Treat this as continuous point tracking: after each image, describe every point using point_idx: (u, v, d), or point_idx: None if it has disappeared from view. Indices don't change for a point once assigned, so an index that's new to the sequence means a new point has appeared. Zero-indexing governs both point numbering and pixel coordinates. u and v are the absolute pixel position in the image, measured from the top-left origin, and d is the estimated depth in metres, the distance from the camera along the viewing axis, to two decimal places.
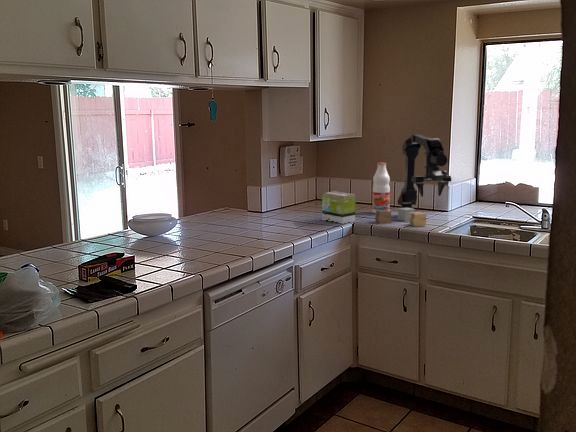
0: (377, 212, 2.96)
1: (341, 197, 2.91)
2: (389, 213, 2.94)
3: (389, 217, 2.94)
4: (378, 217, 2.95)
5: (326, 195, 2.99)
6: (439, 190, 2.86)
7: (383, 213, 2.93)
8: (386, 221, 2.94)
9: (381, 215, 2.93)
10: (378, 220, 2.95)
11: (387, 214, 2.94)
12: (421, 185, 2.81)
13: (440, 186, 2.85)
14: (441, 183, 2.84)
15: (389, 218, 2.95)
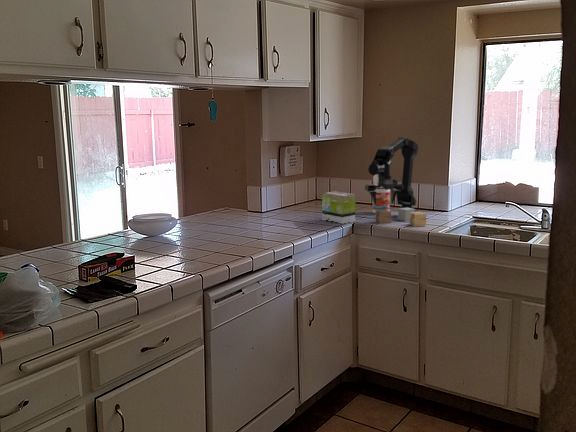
0: (377, 212, 2.96)
1: (341, 197, 2.91)
2: (389, 213, 2.94)
3: (389, 217, 2.94)
4: (378, 217, 2.95)
5: (326, 195, 2.99)
6: (392, 198, 2.96)
7: (383, 213, 2.93)
8: (386, 221, 2.94)
9: (381, 215, 2.93)
10: (378, 220, 2.95)
11: (387, 214, 2.94)
12: (373, 193, 2.92)
13: (392, 194, 2.96)
14: (393, 191, 2.95)
15: (389, 218, 2.95)
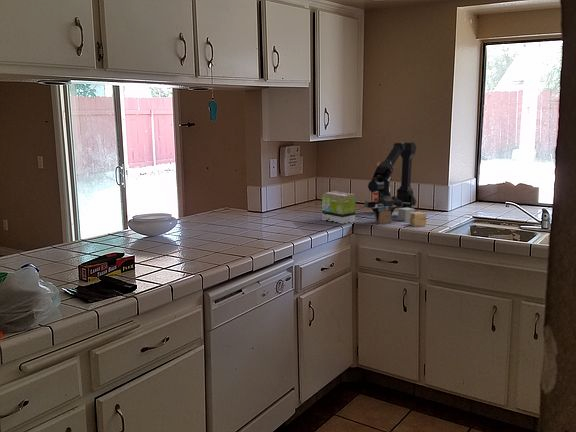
0: None
1: (341, 197, 2.91)
2: (389, 213, 2.94)
3: (389, 217, 2.94)
4: (378, 217, 2.95)
5: (326, 195, 2.99)
6: None
7: (383, 213, 2.93)
8: (386, 221, 2.94)
9: (381, 215, 2.93)
10: (378, 220, 2.95)
11: (387, 214, 2.94)
12: (376, 210, 2.93)
13: None
14: (390, 208, 2.96)
15: (389, 218, 2.95)
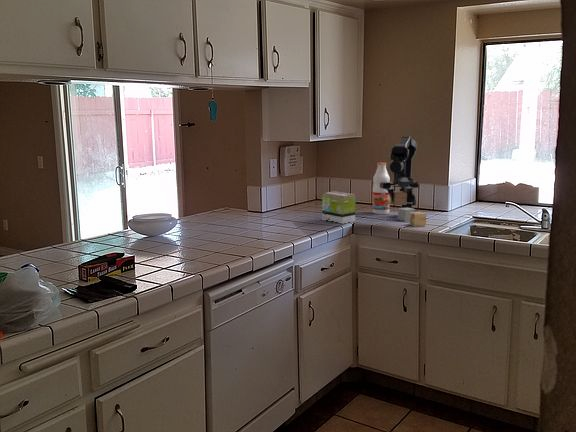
0: (393, 193, 2.91)
1: (341, 197, 2.91)
2: (405, 194, 2.89)
3: (405, 198, 2.89)
4: None
5: (326, 195, 2.99)
6: None
7: (398, 194, 2.88)
8: (402, 202, 2.89)
9: (396, 196, 2.88)
10: (393, 201, 2.90)
11: (403, 195, 2.89)
12: (391, 191, 2.88)
13: None
14: (406, 189, 2.91)
15: (404, 200, 2.89)
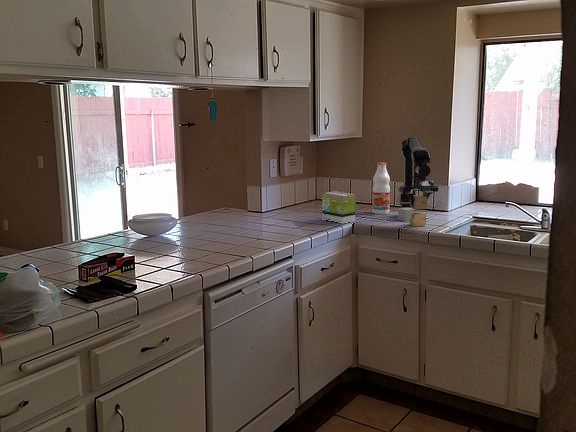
0: None
1: (341, 197, 2.91)
2: (425, 198, 2.85)
3: (425, 202, 2.85)
4: (413, 202, 2.86)
5: (326, 195, 2.99)
6: None
7: (419, 198, 2.84)
8: (422, 207, 2.85)
9: (417, 200, 2.84)
10: (413, 206, 2.86)
11: (423, 199, 2.85)
12: (411, 195, 2.84)
13: None
14: (426, 193, 2.87)
15: (425, 204, 2.85)
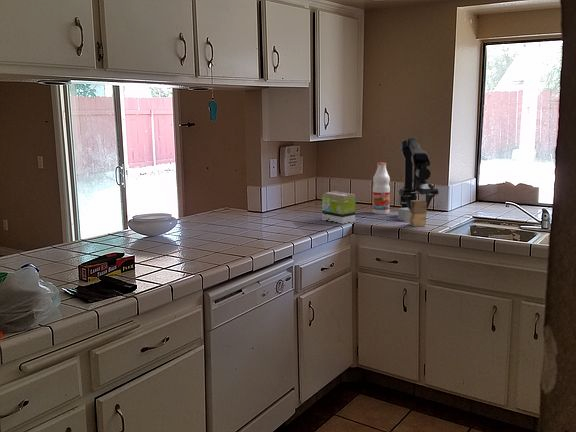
0: (412, 202, 2.87)
1: (341, 197, 2.91)
2: (424, 203, 2.85)
3: (424, 207, 2.86)
4: (413, 207, 2.86)
5: (326, 195, 2.99)
6: None
7: (418, 203, 2.85)
8: (421, 211, 2.86)
9: (416, 205, 2.85)
10: (413, 210, 2.87)
11: (422, 204, 2.85)
12: (408, 198, 2.84)
13: (427, 199, 2.88)
14: (428, 196, 2.88)
15: (424, 209, 2.86)
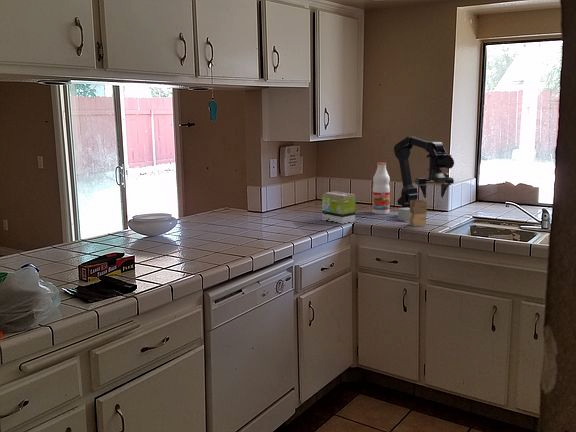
0: (412, 202, 2.87)
1: (341, 197, 2.91)
2: (424, 203, 2.85)
3: (424, 207, 2.86)
4: (413, 207, 2.87)
5: (326, 195, 2.99)
6: (442, 192, 2.96)
7: (418, 203, 2.85)
8: (421, 211, 2.86)
9: (416, 205, 2.85)
10: (413, 210, 2.87)
11: (422, 204, 2.85)
12: (424, 187, 2.92)
13: (443, 188, 2.95)
14: (444, 185, 2.95)
15: (424, 209, 2.86)
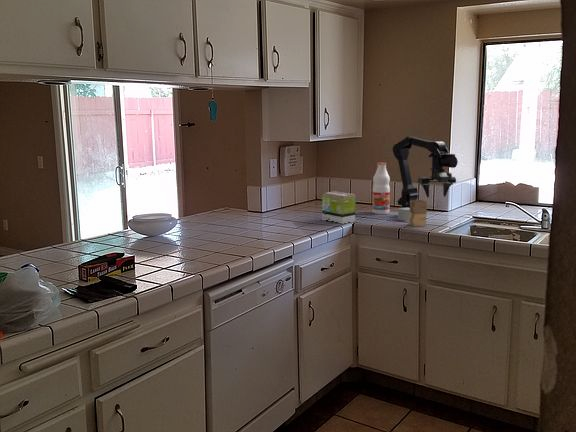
0: (412, 202, 2.87)
1: (341, 197, 2.91)
2: (424, 203, 2.85)
3: (424, 207, 2.86)
4: (413, 207, 2.86)
5: (326, 195, 2.99)
6: (444, 191, 2.98)
7: (418, 203, 2.85)
8: (421, 211, 2.86)
9: (416, 205, 2.85)
10: (413, 210, 2.87)
11: (422, 204, 2.85)
12: (427, 186, 2.93)
13: (445, 187, 2.97)
14: (446, 184, 2.96)
15: (424, 209, 2.86)
